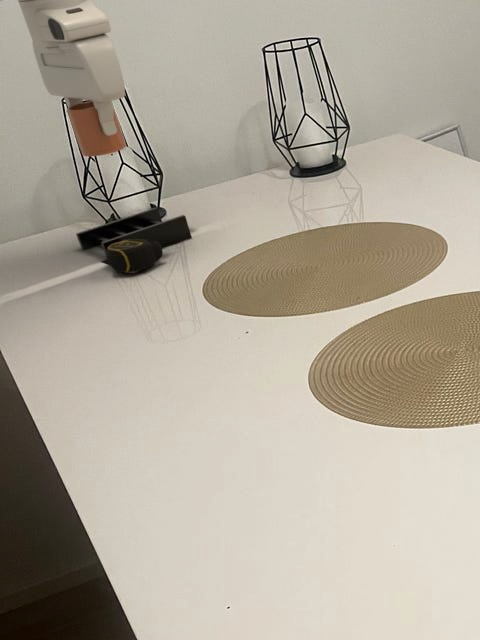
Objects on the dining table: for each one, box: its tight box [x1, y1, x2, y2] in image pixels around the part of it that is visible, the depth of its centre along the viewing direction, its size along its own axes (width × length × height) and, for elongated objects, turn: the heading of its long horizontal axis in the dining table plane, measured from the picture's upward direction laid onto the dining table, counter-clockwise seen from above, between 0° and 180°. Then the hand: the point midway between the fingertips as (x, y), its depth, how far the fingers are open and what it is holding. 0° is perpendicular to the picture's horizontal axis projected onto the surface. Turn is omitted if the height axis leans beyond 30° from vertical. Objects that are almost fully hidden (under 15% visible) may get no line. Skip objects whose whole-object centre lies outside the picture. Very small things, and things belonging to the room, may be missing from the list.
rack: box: [75, 207, 193, 266], centre depth 149 cm, size 14×10×3 cm
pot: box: [66, 100, 127, 157], centre depth 138 cm, size 6×6×6 cm
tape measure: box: [106, 239, 164, 274], centre depth 140 cm, size 7×7×4 cm
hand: (98, 132), depth 139 cm, fingers closed on pot, 6 cm apart
